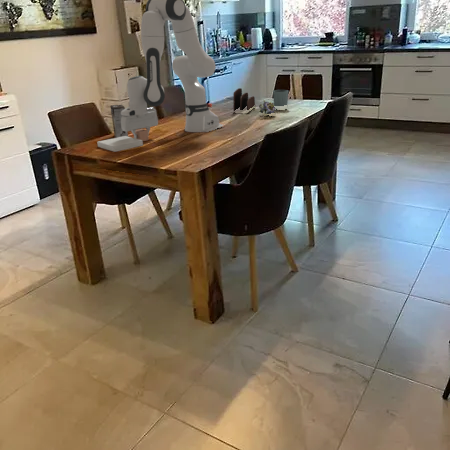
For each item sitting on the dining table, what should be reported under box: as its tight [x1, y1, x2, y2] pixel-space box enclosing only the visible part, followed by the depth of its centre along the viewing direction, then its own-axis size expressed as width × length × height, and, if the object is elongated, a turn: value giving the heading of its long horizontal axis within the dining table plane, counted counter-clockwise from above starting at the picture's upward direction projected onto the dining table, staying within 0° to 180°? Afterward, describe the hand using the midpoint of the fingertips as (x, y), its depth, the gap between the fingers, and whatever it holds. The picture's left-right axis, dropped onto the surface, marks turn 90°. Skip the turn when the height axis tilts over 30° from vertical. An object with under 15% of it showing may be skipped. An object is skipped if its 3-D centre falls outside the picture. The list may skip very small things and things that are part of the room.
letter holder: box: [232, 88, 256, 111], centre depth 310 cm, size 10×20×14 cm, turn 164°
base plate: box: [96, 135, 144, 152], centre depth 233 cm, size 16×16×2 cm
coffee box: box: [109, 104, 129, 138], centre depth 251 cm, size 9×6×16 cm
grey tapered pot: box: [272, 89, 290, 106], centre depth 309 cm, size 10×10×12 cm
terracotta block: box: [135, 128, 150, 142], centre depth 243 cm, size 5×5×5 cm
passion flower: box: [258, 99, 276, 115], centre depth 289 cm, size 11×11×12 cm
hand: (141, 137), depth 243 cm, fingers closed on terracotta block, 5 cm apart
